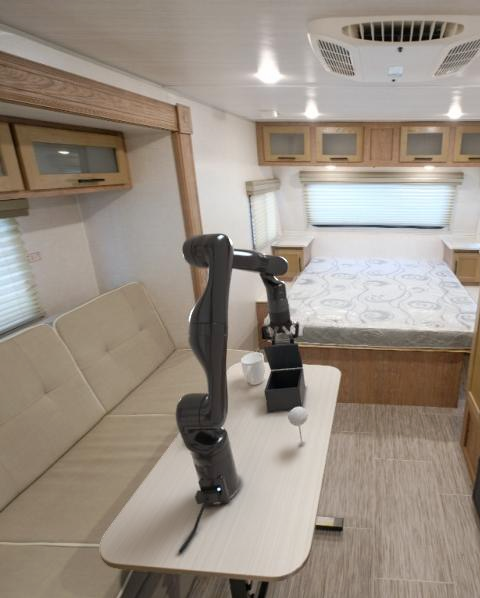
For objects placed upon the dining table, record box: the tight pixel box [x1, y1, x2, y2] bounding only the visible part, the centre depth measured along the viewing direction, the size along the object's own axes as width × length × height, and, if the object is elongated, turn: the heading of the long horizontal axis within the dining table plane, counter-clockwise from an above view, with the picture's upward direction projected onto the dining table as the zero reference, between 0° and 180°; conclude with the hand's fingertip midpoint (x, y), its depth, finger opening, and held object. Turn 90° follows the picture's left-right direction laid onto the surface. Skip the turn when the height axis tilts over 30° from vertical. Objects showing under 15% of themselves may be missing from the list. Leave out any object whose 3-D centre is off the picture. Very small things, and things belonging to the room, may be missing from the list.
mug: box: [240, 351, 266, 386], centre depth 144 cm, size 12×9×12 cm
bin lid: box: [262, 338, 304, 371], centre depth 135 cm, size 14×13×5 cm
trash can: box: [263, 367, 306, 413], centre depth 134 cm, size 14×13×10 cm
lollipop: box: [287, 407, 309, 446], centre depth 112 cm, size 6×6×15 cm
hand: (284, 347), depth 135 cm, fingers closed on bin lid, 5 cm apart
